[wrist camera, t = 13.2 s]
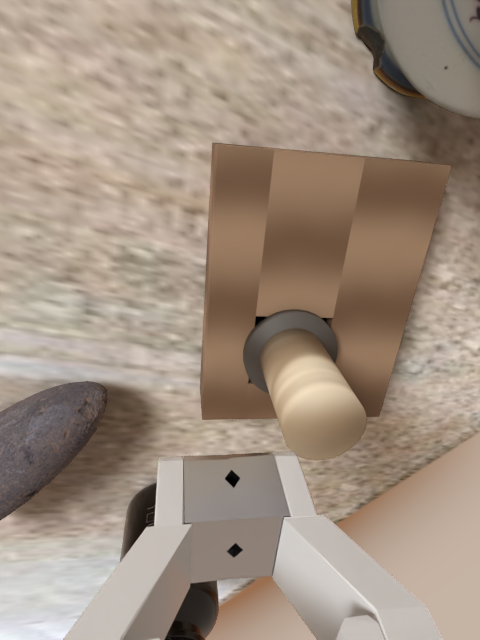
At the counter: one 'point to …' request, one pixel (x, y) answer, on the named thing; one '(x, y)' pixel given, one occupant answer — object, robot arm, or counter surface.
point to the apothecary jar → (425, 48)
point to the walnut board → (312, 261)
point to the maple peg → (304, 383)
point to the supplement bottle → (202, 596)
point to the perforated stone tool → (45, 438)
